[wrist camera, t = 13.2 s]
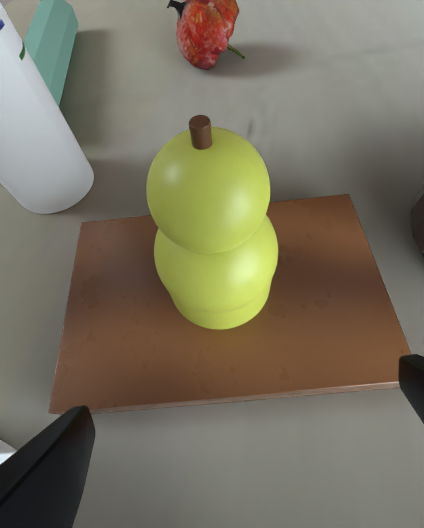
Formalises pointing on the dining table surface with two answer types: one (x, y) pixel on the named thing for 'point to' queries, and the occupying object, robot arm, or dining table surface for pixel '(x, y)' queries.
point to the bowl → (418, 220)
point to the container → (52, 43)
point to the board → (233, 339)
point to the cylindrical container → (35, 135)
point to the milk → (5, 451)
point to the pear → (212, 225)
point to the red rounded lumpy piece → (205, 29)
